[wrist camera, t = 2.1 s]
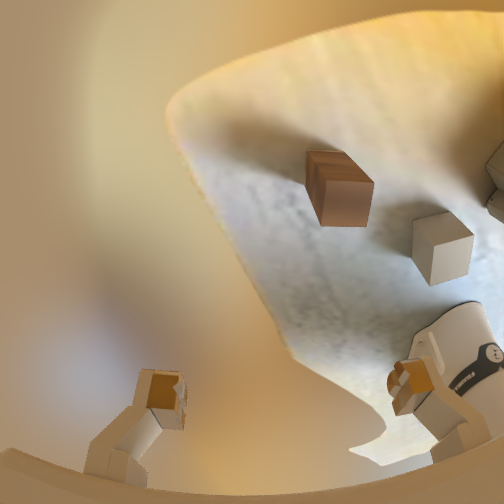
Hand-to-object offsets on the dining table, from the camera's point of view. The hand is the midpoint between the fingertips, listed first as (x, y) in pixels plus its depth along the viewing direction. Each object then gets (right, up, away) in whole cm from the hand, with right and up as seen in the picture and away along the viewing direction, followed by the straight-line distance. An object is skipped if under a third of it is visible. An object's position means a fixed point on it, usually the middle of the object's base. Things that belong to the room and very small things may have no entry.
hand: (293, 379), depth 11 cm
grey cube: (+22, +7, +25) cm, 34 cm away
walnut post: (+6, +13, +21) cm, 25 cm away
